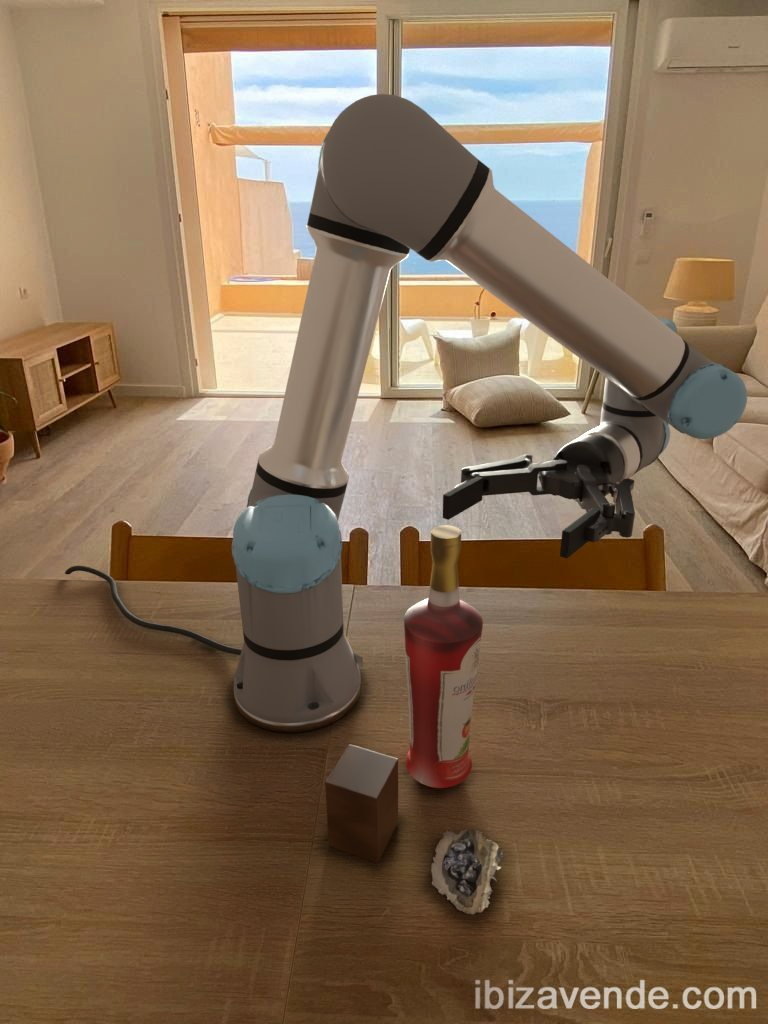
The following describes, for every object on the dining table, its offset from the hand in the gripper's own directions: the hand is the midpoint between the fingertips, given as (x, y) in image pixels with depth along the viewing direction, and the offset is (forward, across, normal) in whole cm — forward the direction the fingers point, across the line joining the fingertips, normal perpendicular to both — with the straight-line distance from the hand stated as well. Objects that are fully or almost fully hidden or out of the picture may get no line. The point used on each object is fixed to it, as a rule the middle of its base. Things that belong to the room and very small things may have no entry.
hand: (501, 525), depth 69 cm
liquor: (+10, 0, -25) cm, 27 cm away
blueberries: (+18, -9, -25) cm, 32 cm away
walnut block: (+20, +1, -25) cm, 32 cm away
